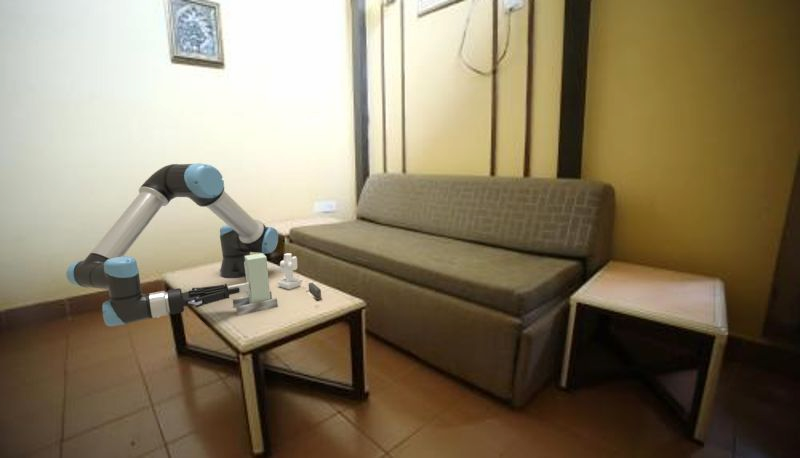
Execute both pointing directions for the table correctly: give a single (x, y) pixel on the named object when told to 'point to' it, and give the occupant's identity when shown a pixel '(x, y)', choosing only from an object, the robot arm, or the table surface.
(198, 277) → the table surface
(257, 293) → the block
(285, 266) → the figurine
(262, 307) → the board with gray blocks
